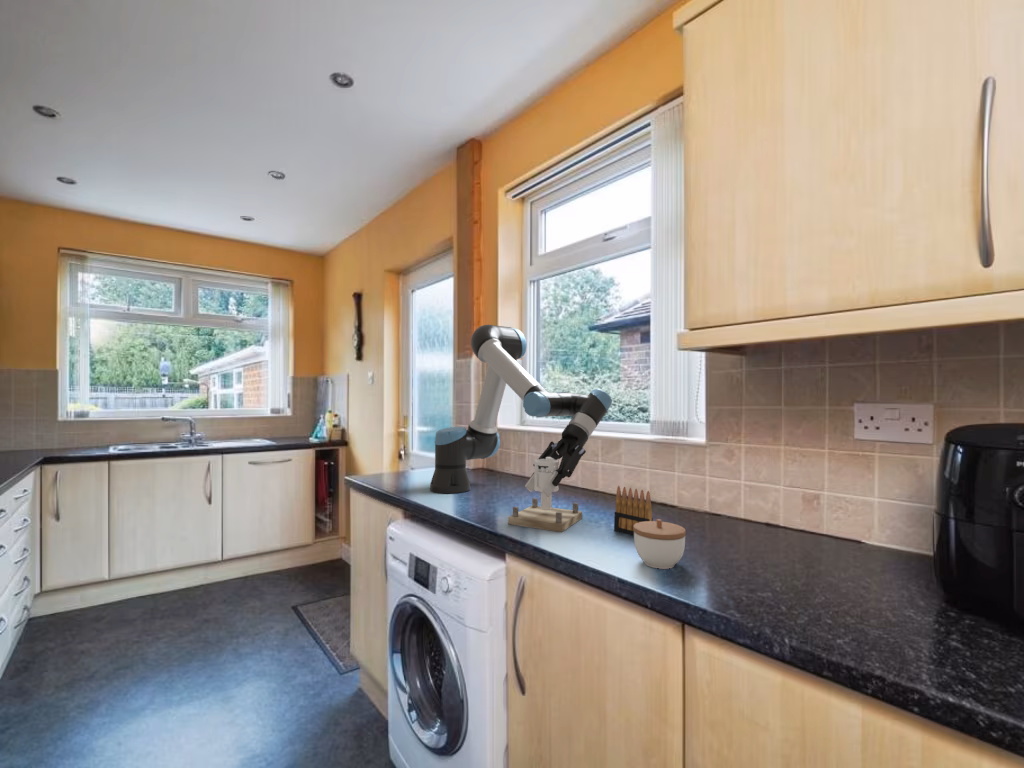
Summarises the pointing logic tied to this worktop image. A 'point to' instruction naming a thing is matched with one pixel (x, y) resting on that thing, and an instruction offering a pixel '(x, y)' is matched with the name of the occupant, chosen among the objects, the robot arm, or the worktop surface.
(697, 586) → the worktop surface
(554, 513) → the board
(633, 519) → the ammunition clip
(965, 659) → the worktop surface
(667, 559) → the lidded jar
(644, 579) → the worktop surface
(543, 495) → the white stemmed cylinder
